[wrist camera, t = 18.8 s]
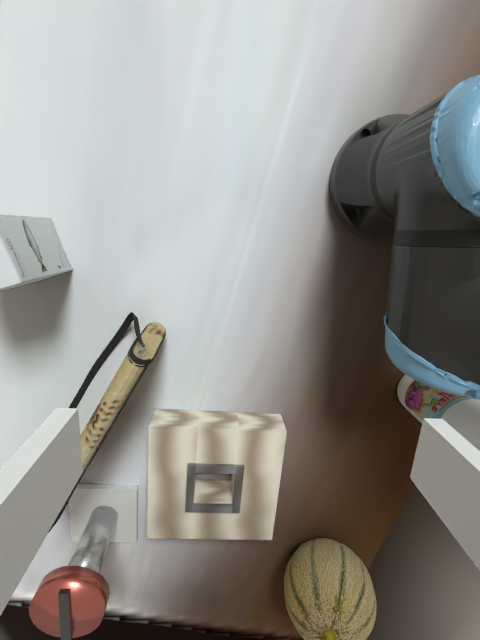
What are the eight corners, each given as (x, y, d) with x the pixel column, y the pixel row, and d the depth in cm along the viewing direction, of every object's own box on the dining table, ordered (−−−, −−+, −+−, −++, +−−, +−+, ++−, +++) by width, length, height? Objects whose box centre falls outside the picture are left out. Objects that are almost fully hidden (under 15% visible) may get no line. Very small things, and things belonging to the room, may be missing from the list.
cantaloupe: (357, 572, 64) (398, 672, 50) (282, 586, 64) (301, 691, 49) (351, 511, 60) (393, 601, 46) (271, 526, 60) (288, 621, 45)
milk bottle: (450, 388, 55) (576, 476, 35) (411, 416, 56) (513, 517, 36) (426, 355, 53) (545, 429, 33) (386, 385, 54) (479, 473, 34)
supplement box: (75, 270, 46) (23, 285, 34) (23, 284, 46) (-47, 305, 34) (53, 216, 44) (-11, 211, 32) (-1, 231, 44) (-85, 232, 32)
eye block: (280, 414, 54) (287, 435, 48) (267, 514, 59) (272, 543, 54) (155, 408, 52) (147, 429, 47) (152, 512, 57) (146, 541, 52)
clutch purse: (131, 294, 47) (93, 323, 33) (174, 318, 49) (156, 356, 34) (45, 451, 53) (-20, 534, 39) (86, 468, 55) (38, 555, 40)
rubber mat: (138, 485, 56) (136, 489, 55) (138, 537, 59) (136, 542, 58) (70, 483, 55) (67, 488, 54) (73, 536, 58) (70, 541, 57)
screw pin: (75, 493, 54) (23, 590, 40) (132, 495, 55) (101, 591, 41) (77, 537, 57) (29, 643, 42) (131, 538, 57) (102, 643, 43)
